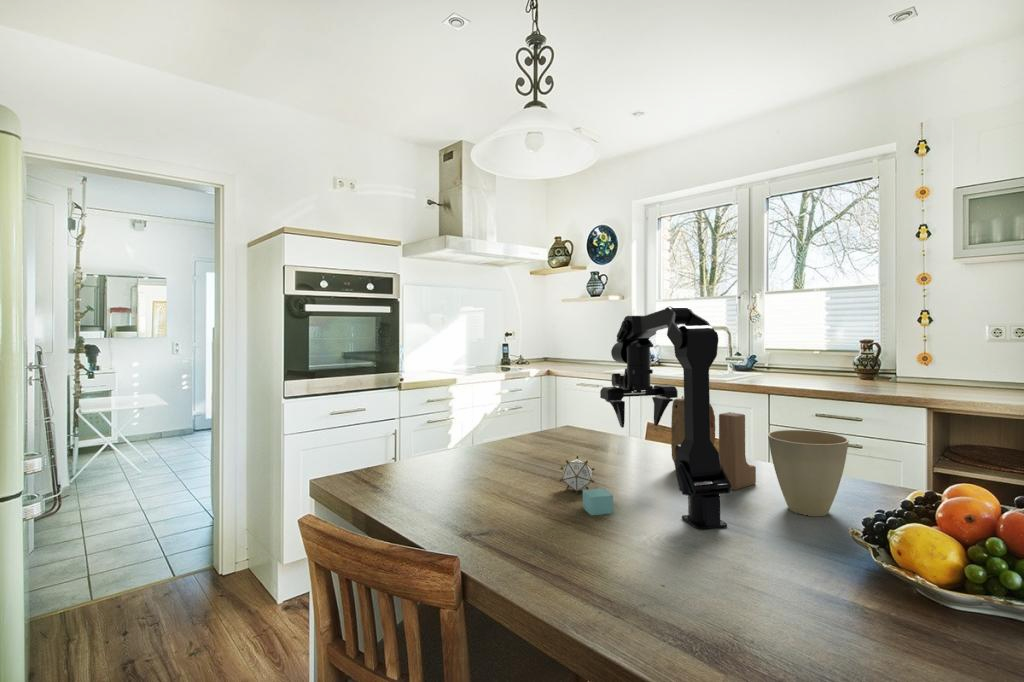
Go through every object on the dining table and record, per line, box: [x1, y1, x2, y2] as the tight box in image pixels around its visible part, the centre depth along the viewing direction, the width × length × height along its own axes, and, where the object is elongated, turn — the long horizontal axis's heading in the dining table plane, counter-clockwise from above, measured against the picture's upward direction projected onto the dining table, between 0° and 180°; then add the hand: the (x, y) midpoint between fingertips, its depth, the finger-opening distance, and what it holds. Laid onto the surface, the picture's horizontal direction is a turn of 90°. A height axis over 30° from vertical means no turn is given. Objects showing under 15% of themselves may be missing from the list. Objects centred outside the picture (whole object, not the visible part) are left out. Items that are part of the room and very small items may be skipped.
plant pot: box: [767, 429, 849, 517], centre depth 109 cm, size 15×15×16 cm
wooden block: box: [718, 411, 757, 491], centre depth 127 cm, size 9×4×18 cm, turn 123°
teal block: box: [582, 488, 614, 516], centre depth 111 cm, size 5×5×4 cm
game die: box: [558, 455, 595, 495], centre depth 124 cm, size 9×8×10 cm
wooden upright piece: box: [670, 398, 716, 467], centre depth 139 cm, size 11×8×20 cm
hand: (639, 426), depth 130 cm, fingers open, 9 cm apart
